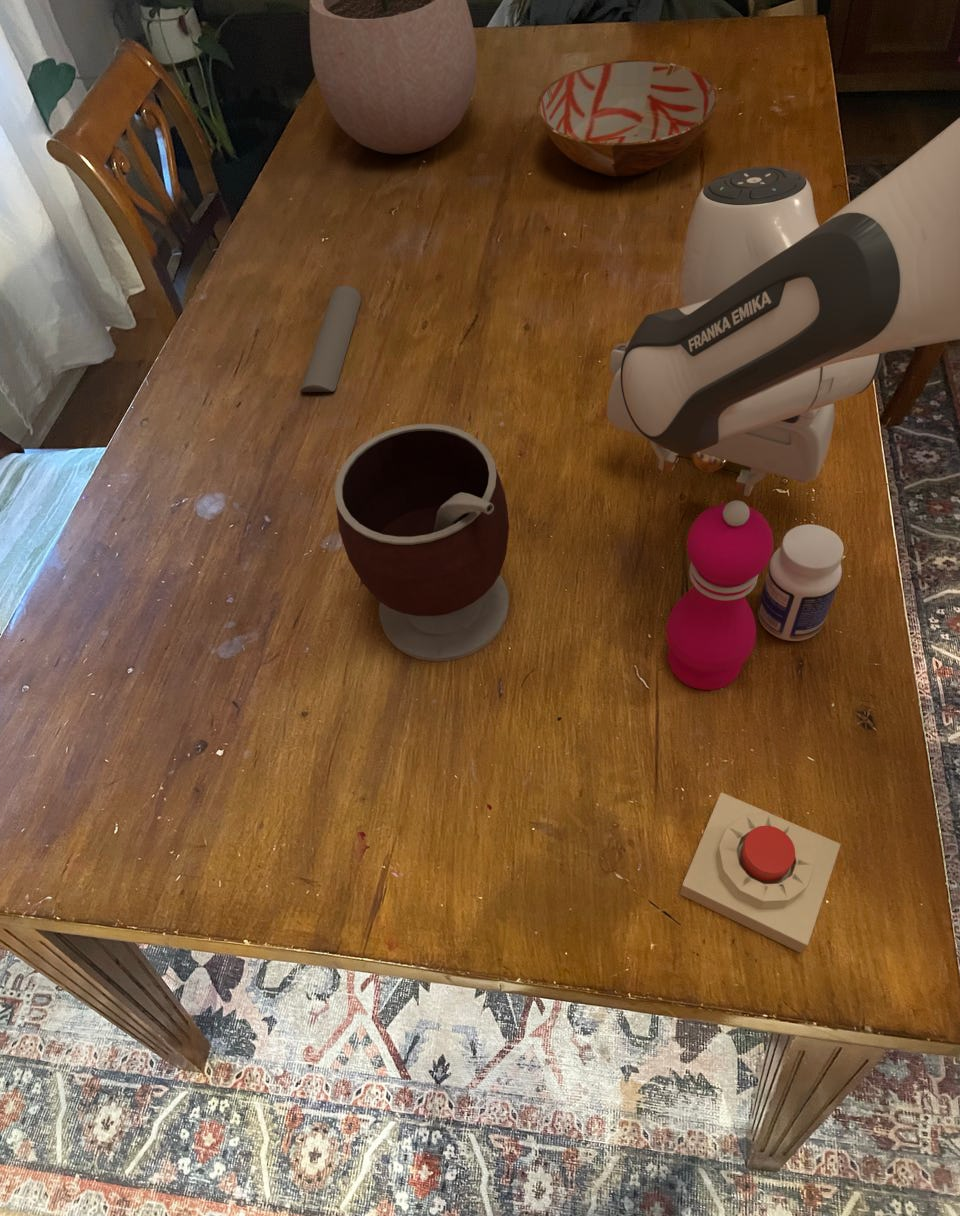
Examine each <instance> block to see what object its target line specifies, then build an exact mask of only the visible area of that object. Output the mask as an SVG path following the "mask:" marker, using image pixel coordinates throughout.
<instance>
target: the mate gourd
mask: <svg viewBox="0 0 960 1216" xmlns="http://www.w3.org/2000/svg"><path fill="white" fill-rule="evenodd" d="M334 500H335V502H336V503H335V504H336V516H337V523H338V531H339V534H340V537H341V541H342V544H343V546H344V550H345V552H346V556H347V558H348V561H349V563H350V564H351V566H352V568H353V570H354V571H355V573H356V574H357V576H358V578H359V579H360V581H361V583H362V584H363V585H364V587H365V588H366V589H367V590H368V591H369V593H371V595H372V596H373V597H375V599H376V600H377V601H378V602H379V605H378V607H379V608H378V609H379V610H378V611H379V613H378V615H379V620H380V623H381V626H382V630H383V633H384V634H385V635H386V637H387V640H389V642H390V643H391V644H392V645H393V646H394V647H396V649H397V650H399V651H401V652H402V653H404V654H405V655H407V656H409V657H412V658H414V659H417V660H421V661H427V662H436V663H437V662H439V663H441V662H443V663H445V662H450V661H457V660H460V659H463V658H467V657H470V656H471V655H474V654H475V653H477V652H479V651H481V650H483V649H484V648H485V647H486V646H489V644H490V643H492V642H493V641H494V639H495V638H496V637H497V636H498V635H499V634H500V632H501V631H502V628H503V627H504V625H505V623H506V620H507V617H508V614H509V609H510V608H509V607H510V599H509V594H508V587H507V585H506V583H505V581H504V578H503V577H502V575H501V572H502V569H503V566H504V563H505V559H506V557H507V552H508V542H509V531H510V520H509V511H508V504H507V496H506V493H505V490H504V486H503V483H502V480H501V477H500V475H499V473H498V470H497V469H496V462H495V460H494V458H493V456H492V454H491V452H490V450H489V449H488V448H487V447H486V446H485V444H484V443H483V442H482V441H481V440H479V439H478V438H477V437H475V436H474V435H472V434H470V433H469V432H467V431H464V430H462V429H461V428H457V427H453V426H450V425H447V424H437V423H415V424H409V425H402V426H399V427H395V428H392V429H388V430H386V431H383V432H382V433H379V434H377V435H375V436H373V437H371V438H370V439H368V440H367V441H365V442H363V443H362V444H360V445H359V447H357V448H356V449H355V450H354V451H353V452H352V453H350V455H349V456H348V457H347V459H346V460H345V461H344V462H343V464H342V466H341V468H340V469H339V471H338V474H337V477H336V479H335V483H334Z"/></svg>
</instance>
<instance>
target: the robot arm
mask: <svg viewBox="0 0 960 1216" xmlns="http://www.w3.org/2000/svg"><path fill="white" fill-rule="evenodd" d="M816 214H817V213H816V210H815V202H814V195H813V190H812V186H811V184H810V182H809V181H808V179H807V178H806V177H805V176H804V175H803V174H801V173H800V172H796V171H794V170H792V169H790V168H786V167H783V166H775V165H774V166H773V165H770V166H752V167H748V168H744V169H739V170H736V171H732V172H730V173H726V174H723V175H721V176H718V177H716V178H714V179H712V180H711V181H709V182H708V183H706V184H705V185H704V187H702V189H701V190H700V191H699V193H698V195H697V198H696V200H695V202H694V205H693V208H692V211H691V213H690V218H689V221H688V226H687V230H686V235H685V240H684V245H683V251H682V258H681V265H680V273H679V282H678V293H679V298H680V301H681V302H680V303H681V307H677V306H676V307H672V308H670V309H666V310H662V311H657V312H653V313H650V314H647V315H645V316H644V318H643V319H642V320H641V322H640V324H639V325H638V327H637V328H636V330H635V332H634V333H633V335H632V337H631V338H630V339H627V341H626V342H620V343H617V344H615V345H614V346H613V347H612V348H611V350H610V354H609V372H610V374H611V375H612V377H613V379H612V382H611V385H610V389H609V392H608V398H607V403H606V414H605V415H606V419H607V421H608V422H609V424H610V425H611V426H612V427H613V428H614V429H618V430H621V431H624V432H628V433H631V434H635V435H638V436H642V437H644V438H646V439H648V440H649V445H650V447H651V449H652V450H653V452H654V453H655V455H656V457H657V459H659V460H658V470H660V471H662V472H667V473H669V474H674V472H676V471H675V470H676V469H677V467H678V466H679V463H680V458H679V457H681V456H680V455H683V456H689V455H691V454H694V453H696V452H699V453H703V454H706V455H710V456H713V457H717V458H720V459H724V460H727V461H730V462H734V463H737V464H741V465H744V466H748V467H751V471H748V470H744V469H742V470H741V472H740V473H739V474H738V476H737V478H736V480H735V484H734V488H733V493H735V494H740V495H741V496H745V497H750V495H751V494H752V491H753V489H754V487H755V485H756V484H758V482H761V480H763V479H765V478H766V476H767V474H772V475H775V476H778V477H782V478H785V479H790V480H793V481H795V482H799V483H804V484H805V483H808V482H811V481H813V480H815V479H816V478H818V477H819V474H820V472H821V471H822V469H823V466H824V463H825V461H826V458H827V456H828V453H829V449H830V445H831V443H832V442H831V441H832V436H833V430H834V423H835V403H839V402H841V401H844V400H846V399H848V398H851V397H854V396H856V395H860V394H861V393H863V392H865V391H866V390H867V389H868V388H869V387H870V385H872V383H873V382H874V380H875V379H876V377H877V375H878V374H879V371H880V369H881V368H882V365H883V362H884V359H885V356H886V353H890V352H895V351H900V350H907V349H912V348H918V347H923V346H929V345H936V344H941V343H945V342H951V341H958V340H960V117H958V118H957V119H956V120H955V121H953V122H952V123H951V124H950V125H948V126H947V127H946V128H945V129H944V130H942V131H941V132H940V133H938V134H937V135H936V136H935V137H933V138H932V139H931V140H930V141H928V142H927V143H926V144H925V145H923V146H922V147H921V148H920V149H919V150H917V151H916V152H915V153H913V154H912V155H911V156H910V157H908V158H907V159H906V160H905V161H903V162H902V163H900V164H899V165H898V166H896V167H895V168H894V169H893V170H892V171H890V172H889V173H888V174H886V175H884V177H882V178H880V179H879V180H878V181H877V182H875V183H874V184H872V185H871V186H870V187H869V188H868V189H866V190H865V191H863V192H862V193H860V194H859V195H857V196H856V197H854V199H853V200H851V201H850V202H849V203H847V204H846V205H844V206H843V207H842V208H841V209H840V210H838V211H837V212H835V214H833V215H832V216H831V217H829V218H828V219H826V220H825V221H824V222H823V223H822V224H821V225H819V222H818V219H817V215H816Z"/></svg>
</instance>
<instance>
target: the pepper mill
mask: <svg viewBox="0 0 960 1216" xmlns="http://www.w3.org/2000/svg"><path fill="white" fill-rule="evenodd" d="M690 526H691V527H690V528H689V530H688V535H687V538H686V550H687V555H688V558H689V560H690V562H689V563H690V565H689V569H688V575H689V579H690V582H691V583H692V587H691V588H690V589H689V590H688V591H687V592H686V593H685V594H683V595H682V596H681V597H680V598H679V599H678V600H677V602H676V604H675V605H674V606H673V608H672V609H671V612H670V613H669V616H668V619H667V622H666V626H665V627H666V628H665V635H666V636H665V637H666V641H667V645H668V647H669V648H668V654H667V655H668V656H667V657H668V659H667V660H668V664H669V667H670V669H671V671H672V673H673V674H674V676H675V677H676V678H677V679H678V680H680V682H682V683H683V684H685V685H686V686H688V687H691V688H694V689H698V690H702V691H714V690H719V689H722V688H725V687H727V686H729V685H730V684H731V683H734V681H735V680H736V679H737V677H738V676H739V675H740V673H741V670H742V667H743V663H744V662H746V660H747V659H748V658H749V657H750V655H751V653H752V652H753V649H754V647H755V643H756V638H757V637H756V636H757V624H756V619H755V616H754V613H753V610H752V608H751V606H750V604H749V602H748V600H747V598H746V597H747V595H749V594H750V593H751V592H752V591H753V590H754V589H755V588H756V586H757V583H758V578H759V576H760V574H761V573H763V571H764V570H765V569H766V567H767V566H768V565H769V563H770V561H771V558H772V556H773V550H774V536H773V531H772V529H771V527H770V524H769V522H768V521H767V520H766V518H765V517H764V515H762V514H761V513H760V512H759V511H757V510H756V509H754V508H753V507H751V506H748V505H747V504H746V503H745V502H744V501H742V500H732V501H729V502H725V503H720V504H716V505H712V506H711V507H709V508H706V509H705V510H704V511H703V512H701V513H700V514H699V515H698V516H697V518H696V519H695V520H693V522H692V524H691V525H690Z"/></svg>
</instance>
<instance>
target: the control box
mask: <svg viewBox="0 0 960 1216" xmlns="http://www.w3.org/2000/svg"><path fill="white" fill-rule="evenodd" d="M759 826H772V827H776V828H778V829H780V830H782V831H783V832H784V833H786V834H787V835H788V836H789V838H790V839H791V841H792V842H793V845H794V848H795V859H794V862H793V864H792V865H791V867H790V869H789V870H788V872H787V874H786V875H785V876H784V877H782V878H781V879H779V880H776V881H763V880H760V879H757V878H755V877H754V876H752V875H751V874H750V873H749V872H748V871H747V870H746V869H745V867H744V865H743V863H742V860H741V848H742V845H743V843H744V841H745V838H746V836H747V835H748V833H749V832H750V831H751V830H753V829H754V828H756V827H759ZM840 848H841V843H840V842H837V841H835V840H833V839H831V838H828V837H825V836H824V835H821V834H819V833H817V832H814V831H812V830H810V829H807V828H805V827H802V826H801V825H798V824H796V823H794V822H791V821H788V820H786V819H784V818H782V817H780V816H777V815H775V814H772V813H770V812H768V811H766V810H764V809H761V808H759V807H756V806H754V805H752V804H749V803H747V802H745V801H743V800H741V799H738V798H736V797H733V796H732V795H729V794H728V793H727V794H726V793H724V792H720V793H719V795H718V798H717V800H716V802H715V805H714V807H713V810H712V812H711V815H710V817H709V819H708V822H707V823H706V826H705V829H704V831H703V834H702V835H701V838H700V841H699V843H698V846H697V847H696V850H695V852H694V855H693V858H692V860H691V862H690V865H689V867H688V869H687V871H686V874H685V877H684V879H683V882H682V884H681V887H680V891H679V895H680V896H682V897H684V898H686V899H689V900H691V901H693V902H695V903H697V904H698V905H701V906H703V907H705V908H707V909H709V910H710V911H713V912H716V913H717V914H720V915H721V916H723V917H726V919H730V920H732V921H734V922H736V923H737V924H740V925H742V926H744V927H745V928H747V929H750V930H752V931H754V932H756V933H758V934H760V935H762V936H765V937H766V938H769V939H771V940H773V941H774V942H777V943H779V944H781V945H783V946H785V947H786V948H788V949H791V950H793V951H795V952H797V953H800V954H802V953H803V952H804V951H805V950H806V948H807V947H808V946H809V944H810V941H811V938H812V935H813V931H814V928H815V925H816V922H817V919H818V916H819V913H820V910H821V907H822V904H823V900H824V897H825V894H826V891H827V888H828V885H829V882H830V880H831V876H832V873H833V870H834V867H835V865H836V861H837V857H838V854H839V851H840Z"/></svg>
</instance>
